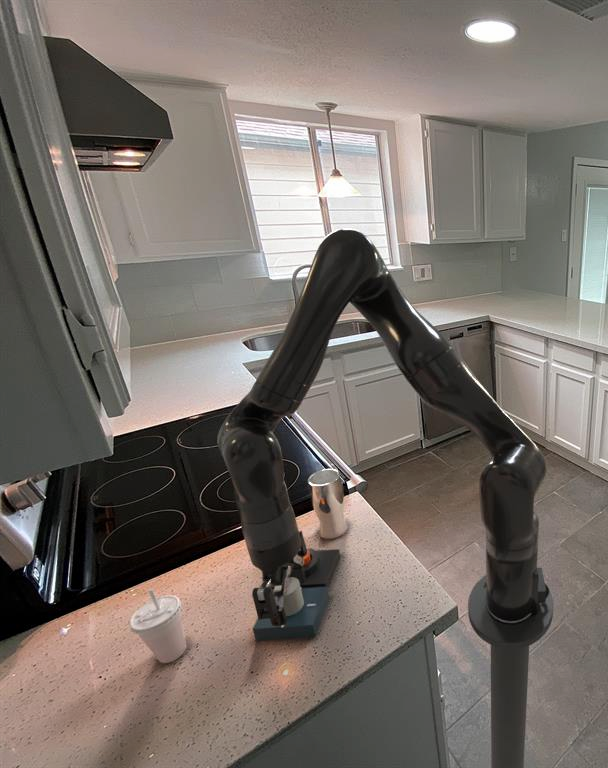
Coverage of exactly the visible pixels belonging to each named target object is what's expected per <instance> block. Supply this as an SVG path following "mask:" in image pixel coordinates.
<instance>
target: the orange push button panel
mask: <svg viewBox="0 0 608 768" xmlns="http://www.w3.org/2000/svg"><path fill="white" fill-rule="evenodd" d="M307 550H309V552H310V557H311V561H310V563H309V564H308V565H306V566H305V567H303V569H304V573H305V577H306V580H305V582H304V583H303V584H300V587H302V588H315V587H328V589H329V588H330V586H331V583H332V580H333V577H334V575H335V572H336V570H337V567H338V564H339V563H340V559H341V557H342V556H341V552H340V548H338V549H336V548H335V549H317V550H315V549H313V548H311V547H310V548H307ZM289 577H291V575H290V576H289ZM271 587H272V590H274V588H275V586H271Z"/></svg>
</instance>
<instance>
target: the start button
mask: <svg viewBox="0 0 608 768" xmlns="http://www.w3.org/2000/svg"><path fill="white" fill-rule="evenodd" d="M300 550H301V549H300ZM303 559H304V565H303V567H305V566H306V565H308V564H309V563H310V561H311V557H310V552H309V550H307V555H306V556H303Z"/></svg>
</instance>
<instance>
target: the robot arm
mask: <svg viewBox="0 0 608 768" xmlns="http://www.w3.org/2000/svg"><path fill="white" fill-rule="evenodd" d="M301 289H302V290H301V292H300V294H299V296H298V299H297V301H296V304H295V306H294V309H293V310H292V313H291V316H290V318H289V320H288V322H287V324H286V326H285V328H284V330H283V332H282V334H281V336H280V338H279V340H278V342H277V344H276V345H275V347H274V348H273V350H272V352H271V354H270V355H269V357H268V359H267V361H266V362H265V364H264V366H263V368H262V369H261V371H260V372H259V374H258V376H257V378H255V379H256V380H255V381H254V383H253V385H252V387H251V389H250V390H249V392H248V393H247V394H246V395H245V396H244V397H243V398H242V399H241V400H240V401H239V402H238V404H237V405H236V406H235V407H233V409H232V410H231V412H230V413H229V414H228V416H226V418H225V420H224V421H223V423H222V425H221V427H220V429H219V430H218V433H217V439H216V442H217V443H216V444H217V448H218V451H219V452H220V455H221V456H222V459H223V461H224V463H225V466H226V469H227V471H228V474H229V478H230V481H231V483H232V486H233V489H234V490H233V495H234V501H235V505H236V508H237V512H238V516H239V518H240V525H241V532H242V536H243V538H244V542H245V545H246V549H247V552H248V555H249V558H250V561H251V564H252V565H253V566H254V567H255V568H257V569H259V570H260V571H261V572H262V583H261V585H260V587H254V588H253V589H252V593H251V595H252V600H253V603H254V604H253V605H254V607H255V611H256V617H257V619H270V620H271V624H272V626H281V625H285V624H286V622H287V616H286V613H285V609H284V606H283V599H284V595H285V594H286V593H287V589H288V578H289V576H290V575H291V577H294V578H297V579H298V580H299V583H300V584H303V583H304V582H305V580H306V577H305V573H304V569H303V565H304V559H303V556H306V555H307V549H308V548H307V545H306V541H305V538H304V534H303V530H299V527H298V523H297V519H296V514H295V512H294V508H293V506H292V503H291V501H290V497H289V492H288V488H287V485H286V482H285V472H284V471H285V470H284V469H285V468H284V460H283V459H284V458H283V454H282V453H283V452H282V448H281V446H280V443H279V440H278V439H277V437H276V435H275V434H274V431H275V429H276V427H277V426H278V424H279V423H280V421H281V420H282V419H283V418H284V417H290V416H293V415H295V413H296V412H297V411H298V409H300V406H301V405H302V404H303V401H304V400H305V398H306V396H307V395H308V394H309V391H310V390H311V389H312V386H313V385H314V382H315V381H316V378H317V377H318V376H319V372H320V370H321V368H322V365H323V362H324V359H325V357H326V353H327V350H328V346H329V343H330V340H331V337H332V334H333V331H334V329H335V328H336V325H337V323H338V321H339V319H340V317H341V315H342V314H343V312H344V310H345V309H346V307H347V306H348V305H349V304H351V305H352V306H353V307H354V308H355V309H356V311H358V312H359V314H360V315H362V316H363V318H364V319H365V320H366V321H367V322H368V323H369V324H370V325H371V327H372V328H373V329H374V330H375V331H376V333H377V334H378V336H379V338H380V340H381V341H382V343H383V345H384V347H385V348H386V350H387V352H388V354H389V356H390V358H391V359H392V362H393V363H394V365H395V366H396V368H397V369H398V371H399V372H400V373H401V375H402V376H403V378H404V379H405V381H406V382H407V383H408V384H409V386H410V387H411V388H412V389H413V390H414V392H415V393H416V394H417V395H418V397H419V398H420V400H422V402H423V403H424V404H425V405H426V406H428V407H429V408H430V409H431V410H433V411H434V412H435V413H438V414H440V415H442V416H443V417H446V418H447V419H449V420H451V421H453V422H455V423H457V424H459V425H461V426H463V427H464V428H466V429H468V430H469V431H470V432H471V433H472V434H473V435H475V436H476V438H478V440H479V441H480V442H481V443H482V445H483V446H484V447H485V448H486V450H487V451H488V452H489V454H490V455H491V457H490V459H489V460H488V461H487V463H486V464H485V466H484V467H483V468H482V470H481V473H480V476H479V482H478V486H479V487H478V492H479V493H478V494H479V508H480V509H479V511H480V518H481V522H482V525H483V527H484V528H485V575H486V582H485V584H484V589H485V586H486V607H487V610H488V612H489V614H490V615H491V616H492V617H493V618H494V619H495V620H496V621H498V622H500V623H503V624H508V625H514V624H519V623H522V622H524V621H526V620H527V619H528V618H529V617H530V616H532V615H537V603H538V602H546V598H547V597H548V595H549V590H550V588H549V586H548V585H547V583H546V582H545V578H544V577H545V576H544V572H543V568H542V567H538V553H539V552H538V551H539V535H540V534H539V533H540V520H539V517H538V514H537V513H536V511H535V510H534V509H535V507H534V506H535V498H536V495H537V493H538V492H539V490H540V488H541V486H542V485H543V482H544V480H545V478H546V475H547V472H548V471H547V470H548V466H547V465H548V464H547V461H546V457H545V456H544V454H543V452H542V451H541V449H540V448H539V447H538V446H537V445H536V443H535V442H534V441H533V440H532V439H531V438H530V437H529V436H528V435H527V434H526V432H524V431H523V430H522V429H521V428H520V427H519V426H518V424H516V423H515V422H514V421H513V419H511V418H510V416H508V414H507V413H506V412H505V411H504V410H503V409H502V407H501V406H500V405H499V404H498V403H497V401H496V400H495V399H494V398H493V396H492V395H491V394H490V393H489V391H488V390H487V389H486V387H484V385H483V384H482V383H481V382H480V381H479V379H478V378H477V377H476V375H475V374H474V373H473V371H472V370H471V368H470V367H469V366H468V364H467V363H466V362H465V360H464V359H463V358H462V357H461V355H459V353H458V352H457V349H455V348H454V346H452V344H451V343H450V342H449V341H448V340H447V339H446V337H445V336H444V335H443V334H442V333H441V332H440V331H439V330H438V329H437V328H436V327H435V326H434V325H433V324H432V323H431V322H430V321H429V320H428V319H426V318H425V317H424V316H423V315H422V314H421V313H420V312H418V311H417V309H416V308H415V307H414V306H413V305H412V304H411V302H410V301H409V300H408V299H407V297H406V296H405V294H404V293H403V291H402V290H401V288H400V286H399V285H398V283H397V282H396V281H395V279H394V278H393V276H392V274H391V272H390V271H389V269H388V267H387V265H386V262H385V261H384V259H383V258H382V255H381V254H380V252H379V250H378V249H377V247H376V245H375V244H374V243H373V241H372V240H371V239H370V238H369V237H368V236H367V235H365V233H363V232H360V231H358V230H357V229H352V228H341V229H335V231H332V232H330V233H329V234H328V235H326V236H325V237H324V238H323V239H322V240H321V242H320V244H319V246H318V247H317V250H316V252H315V255H314V257H313V259H312V262H311V265H310V268H309V270H308V274H307V276H306V279H305V282H304V285H303V287H302V288H301ZM300 549H301V550H300ZM281 585H282V587H281V590H272V587H271V586H281ZM274 596H277V598H278V599H277V603H275V599H274Z"/></svg>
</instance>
